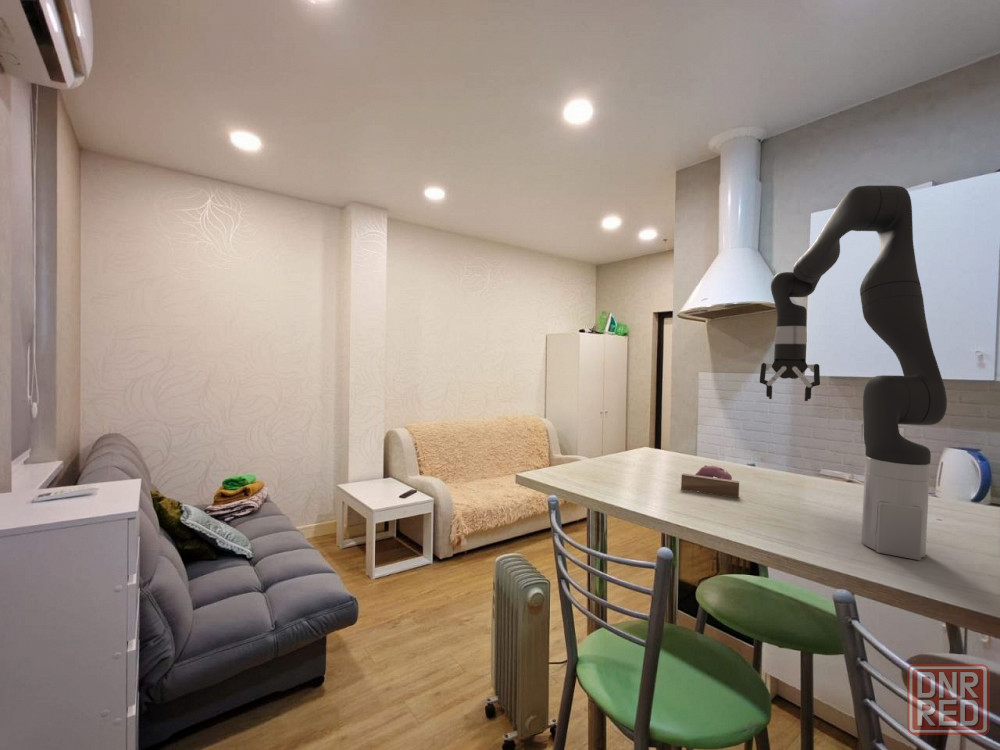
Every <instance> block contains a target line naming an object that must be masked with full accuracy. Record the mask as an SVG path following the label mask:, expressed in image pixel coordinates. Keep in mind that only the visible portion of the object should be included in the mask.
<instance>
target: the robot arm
mask: <svg viewBox="0 0 1000 750" xmlns="http://www.w3.org/2000/svg"><path fill="white" fill-rule="evenodd" d="M912 207H913V205H912V199H911V195H910V193H909V191H908V189H907V188H905V187H904V186H899V185H860V186H856V187H853V189H851V190H849V191H848V192H847V193H846V194H845V195H844V196H843V198H842V199H841V200H840V202H839V203H838V204H837V206H836V207H835V209H834V211H833V212H832V214H831V215H830V217H829V218H828V220H827V222H826V223H825V225H824V226H823V228H822V230H821V232H820V233H819V234H818V236H817V238H816V240H815V241H814V242H813V243H812V245H811V246H810V247H809V248H808V249H807V250H806V252H804V253H803V254H802V255H801V256H800V257H799V258H798V260H797V261H795V263H794V265H793V269H792V270H793V271H780V272H778V273H776V274H775V275H774V276H773V278H772V279H771V283H770V291H771V295H772V298H773V302H774V306H775V309H776V329H775V334H774V350H773V351H774V354H773V355H774V356H773V362H772V363H765V362H762V363H761V365H760V376H759V383H760V384H763V385H765V386H766V395H765V396H766V397H767V398H768V399H769V400H772V399H773V384H774V383H775V382H776V381H777V379H778V378H781V379H791V380H796V379H798V378H799V379H800V381H802V382H803V384H804V385H805V388H804V402H808V401H809V400H811V399H812V389H813V388H814V387H817V386H820V384H821V379H820V378H821V377H820V376H821V373H820V370H821V369H820V365H819V364H818V363H815V364H808V363H807V362H806V360H807V359H806V358H807V344H808V343H807V342H808V338H807V337H808V336H807V335H808V334H807V333H808V332H807V315H808V314H807V313H808V312H807V308H806V307H805V306H803V305H799V304H795V303H794V302H793V301H792V299H791V298H806V297H808V296H810V295H812V294H813V293H814V291H815V290H816V288H817V285H818V283H819V282H820V280H821V277H822V276H823V275H824V274H826V272H827V273H828V271H829V270H830V269H831V268H832V267H833V266H835V264H836V262H837V261H838V260H839V258H840V254H841V242H840V241H841V238H842V237H844V236H845V235H846V234H848V233H850V232H851V231H855V232H876V233H877V235H878V238H879V253H878V255H877V258H876V259H875V261H874V262H873V264H872V265H871V267H870V269H868V271H867V273H866V275H865V276H864V278H863V280H862V282H861V284H860V288H859V294H860V295H859V296H860V303H861V309H862V311H861V312H862V314H863V315H862V316H863V318H864V321H865V322H866V323H867V325H868V326H869V328H871V330H872V331H873V332H874V333H875V334H876V335H877V336H878V337H879V338H880V339H881V340H882V341H883V342H884V343H885V344H886V345H887V346H888V347H889V349H891V351H892V352H893V353H894V355H895V356H896V358H897V359H898V362H899V364H900V367H901V370H902V374H903V375H886V374H885V375H875V376H873V377H871V378H870V379H869V380H868V381H867V383H866V384H865V387H864V389H863V390H864V391H863V398H862V415H863V441H864V447H865V456H864V457H865V458H864V473H863V474H864V478H863V498H862V499H863V500H862V518H861V519H862V523H861V543H862V544H863V545H865V547H869V548H870V549H872V550H874V551H875V552H876V553H879V554H883V555H888V556H889V555H890V556H895V557H899V558H900V557H901V558H907V559H911V560H918V561H922V558H924V557H925V556H926V552H927V551H926V550H927V534H928V533H927V530H928V512H929V493H930V492H929V491H930V478H931V477H930V474H931V460H932V459H931V455H932V454H931V450H930V448H928V447H927V446H924V445H923V444H920V443H917V442H914V441H910V440H908V439H907V438H905V437H903V436H902V435H901V433H900V429H899V428H900V427H899V425H911V426H912V425H915V426H933V425H936V424H939V423H940V422H941V421H942V420H943V419H944V417H945V415H946V413H947V407H948V406H947V405H948V398H947V392H946V388H945V383H944V381H943V377H942V374H941V371H940V368H939V365H938V362H937V359H936V356H935V353H934V349H933V345H932V342H931V338H930V333H929V328H928V327H929V326H928V323H927V319H926V318H927V317H926V311H925V301H924V296H923V290H922V286H921V281H920V278H919V273H918V266H917V261H916V260H917V259H916V255H915V254H916V253H915V247H914V246H915V245H914V231H913V226H914V225H913V208H912ZM770 368H772V369H773V371H774V375H773V376H772V377H771V378H770V379H769V380H767V379H766V374H767V371H769V370H770ZM808 369H809V371H810V372H812V373H813V381H811V382H810V380H808V378H807V377H806V376H805V375H804V374H803V373H805V372H806V371H807V370H808Z"/></svg>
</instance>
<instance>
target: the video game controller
mask: <svg viewBox="0 0 1000 750" xmlns="http://www.w3.org/2000/svg"><path fill="white" fill-rule="evenodd" d="M694 475H699V476H706V477H713V478H720V479H727V480H733V477H732V475H731V474H730V473H729V472H728V471H727V470H725V469H724V468H722V467H718V466H717V465H716V466H715V465H711V466H710V465H706V464H705V465H704V466H703V467H701V468H700V469H699V470H698V471H696V473H695V474H694Z"/></svg>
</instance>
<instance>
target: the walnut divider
mask: <svg viewBox="0 0 1000 750" xmlns="http://www.w3.org/2000/svg"><path fill="white" fill-rule="evenodd" d="M680 483H681V487H680V489H681V490H685V491H690V490H692V492H697V491H699V492H698V493H703V492H705V493H704V494H709V493H711V494H710V495H716V494H717V496H722V495H723V496H724V497H729V496H730V497H731V498H736V499H739V497H740V480H734V479H732V480H727V479H720V478H716V477H706V476H699V475H695V474H692V473H691V474H689V473H684V472H683V473H681V482H680ZM723 496H722V497H723ZM730 497H729V498H730Z"/></svg>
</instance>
